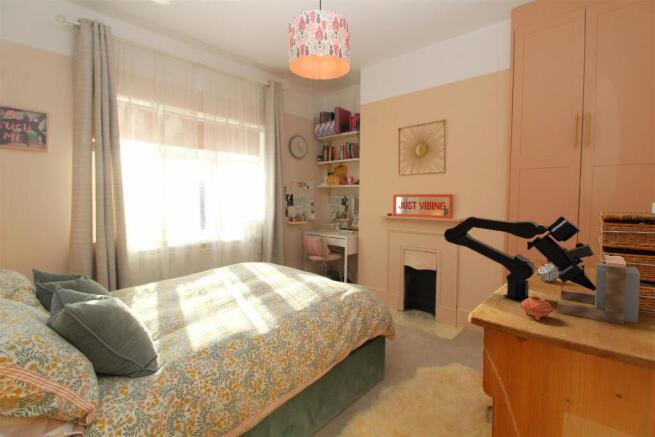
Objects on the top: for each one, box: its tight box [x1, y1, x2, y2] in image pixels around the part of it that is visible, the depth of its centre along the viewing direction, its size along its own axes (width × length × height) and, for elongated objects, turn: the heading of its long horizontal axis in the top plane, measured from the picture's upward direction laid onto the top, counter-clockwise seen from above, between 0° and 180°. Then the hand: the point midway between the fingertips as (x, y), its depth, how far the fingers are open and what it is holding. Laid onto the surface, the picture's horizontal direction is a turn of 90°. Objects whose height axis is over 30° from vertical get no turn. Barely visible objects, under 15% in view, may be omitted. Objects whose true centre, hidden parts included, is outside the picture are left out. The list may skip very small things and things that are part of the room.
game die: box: [536, 261, 559, 284], centre depth 131 cm, size 9×8×10 cm
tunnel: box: [556, 254, 627, 325], centre depth 99 cm, size 15×18×17 cm
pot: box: [520, 295, 554, 321], centre depth 94 cm, size 8×8×7 cm
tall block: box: [594, 262, 641, 324], centre depth 95 cm, size 9×11×14 cm
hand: (595, 289), depth 98 cm, fingers closed
